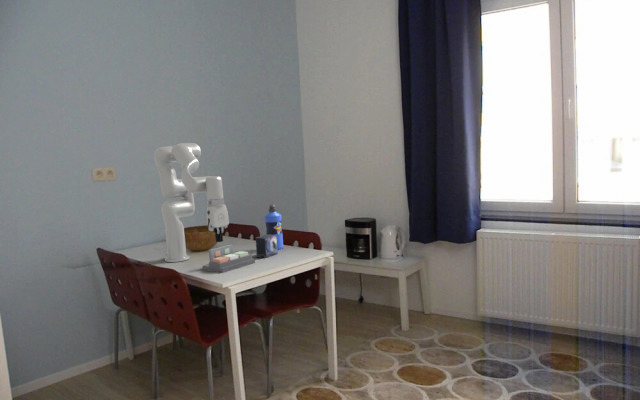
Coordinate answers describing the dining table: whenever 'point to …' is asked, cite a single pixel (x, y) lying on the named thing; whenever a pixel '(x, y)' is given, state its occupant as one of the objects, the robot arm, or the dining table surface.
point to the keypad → (228, 264)
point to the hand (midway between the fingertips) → (219, 241)
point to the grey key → (231, 256)
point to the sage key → (241, 253)
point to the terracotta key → (220, 259)
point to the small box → (266, 246)
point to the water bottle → (274, 225)
